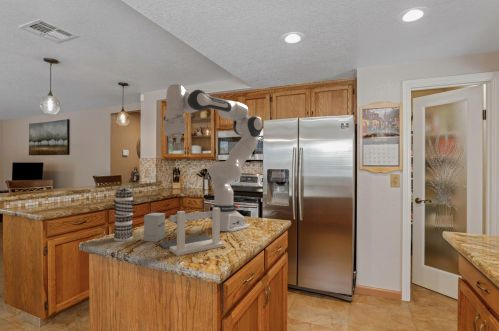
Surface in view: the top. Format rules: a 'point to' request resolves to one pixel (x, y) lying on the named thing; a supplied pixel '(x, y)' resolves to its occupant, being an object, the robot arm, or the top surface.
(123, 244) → the top surface
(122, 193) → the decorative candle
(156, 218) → the supplement box
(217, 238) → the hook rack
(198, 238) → the rubber mat
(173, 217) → the steel bar
